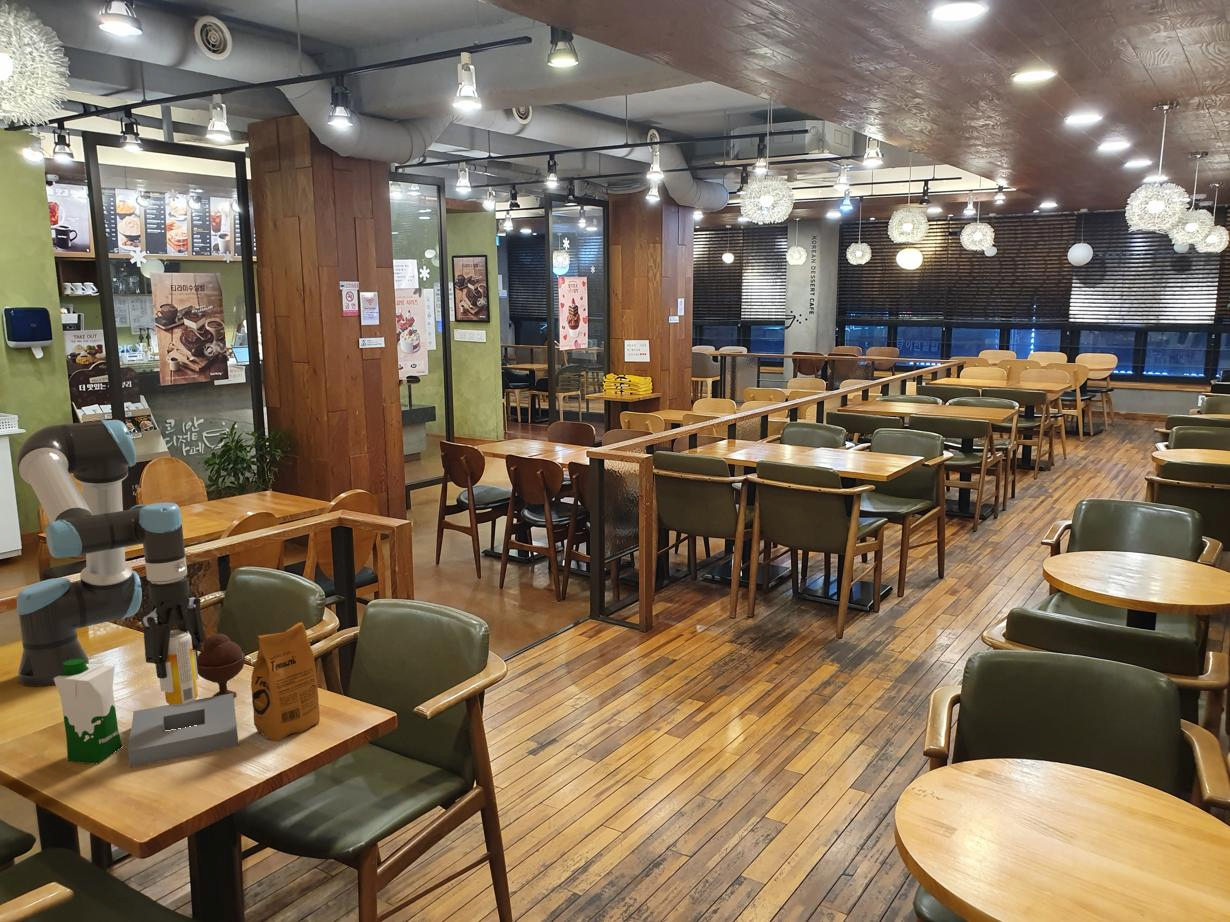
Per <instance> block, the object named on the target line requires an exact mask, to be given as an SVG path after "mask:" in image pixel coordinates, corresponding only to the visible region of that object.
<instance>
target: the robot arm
mask: <svg viewBox="0 0 1230 922" xmlns="http://www.w3.org/2000/svg"><path fill="white" fill-rule="evenodd" d="M135 448H136V447H135V445H134V441H133V438H132V436H131V433H130V431H129V428H128V427H127V426H126V424H125V423H124V422H123V421H121V420H118V419H109V420H108V419H107V420H104V419H101V420H94V421H85V422H75V423H74V422H73V423H65V424H52V425H49V426H46V427H43V428H41V429H38V430H36V431H35V432H34V433H31V435H29V436H28V438H26V439H25V441H24V442H23V443H22V445H21V446H20V448H19V450H18V452H17V455H16V467H17V470H18V473H19V476H20V477H21V478H22V480H23V481H24V482H25V483H27V484H28V485H31V488H32V490H33V491H34V492H35V496H36V497H37V499H38V501H39V503H40V505H41V507H42V509H43V511H44V512H45V514H46V515H45V516H46V517H47V518H48V520H49V523H47V524H46V526H45V539H46V545H47V548H48V552H49V554H50V556H52V557H53V558H55V559H64V558H70V557H71V558H76V557H78V556H83V555H85V560H86V563H85V564H86V567H84V568H83V569H82V570H81V571H80V576H79V577H80V578H79V579H80V580H77V581H72V582H71V580H70V579H69V578H67V577H57V578H49V579H45V580H42V581H41V580H40V581H38V582H35V583H32V584H30V585H29V586H26V587H25V588H23V589H22V590H20V591H19V592H18V594H17V596H16V614H17V615H18V621H19V626H20V628H19V629H20V635H21V641H22V642H21V643H22V649H23V650H22V654H21V659H20V662H19V663H20V664H19V667H18V672H17V675H18V681H19V683H20V684H21V685H23V686H28V687H45V686H50V685H51V686H52V685H56V684H55V682H54V678H55V677H57V676H58V675H60V674H62V673H63V672H64V671H63V663H64V662H65V661H67V660H70V659H74V658H85V660H86V664H90V661H89V660H90V659H89V657H88V655H87V654H86V652H85V650H84V648H83V646H82V645H81V643H80V641H79V638H78V633H77V632H78V631H77V629H82V628H86V627H91V626H95V625H100V624H105V623H109V622H112V621H121V620H123V619H126V618H129V617H133V616H134V615H135V614H136V613H137V612H139V610H140V607H141V604H142V599H143V597H142V595H143V594H142V591H143V590H142V587H141V586H142V583H141V579H140V576H139V574H138V573H137V572H136V571H135V570H133V568H132V566H130V565H129V564H128V563H126V549H125V548H126V547H127V548H128V547H131V546H139V545H142V546H143V547H142V548H143V554H144V564H145V573H146V575H145V576H146V580H147V581H148V583H147V589H148V596H149V597H148V598H149V600H150V601H151V603H152V606H151V607H152V608H151V612H150V613H149V614H147V615H146V616H145V615H142V616H140V619H139V620H140V623H141V625H142V628H143V629H142V630H143V641H144V655H145V663H149V664H154V665H155V671H156V677H157V679H159V685H160V692H162V693H163V692H164V693H165V692H169V693H172V692H174V687H173V678H172V670H171V662H170V661H167V655H168V648H169V640H170V632H171V631H173V628H174V624H176V626H177V630H180V631H183V632H186V631H188V632H189V634H190V635H191V639H192V648H193V657H194V666H195V675H196V681H197V680H199V674H198V670H197V662H198V655H199V653H198V650H199V649H201V648H202V644H203V643H205V641H206V640H205V634H204V629H203V628H204V627H203V621H202V614H201V602H202V601H201V598H199V597H191V596H190V597H189V594H190V584H189V578H188V577H187V574H188V568H187V567H188V566H187V557H186V552H185V539H184V531H183V517H182V515H181V509H180V506H179V505H178V504H177V503H175V502H156V503H155V502H154V503H151V504H137V505H134V506H131V507H130V508H129V509H126V510H124V506H123V503H124V502H123V484H122V481H124V480H125V479H126V478H127V477H128V475H129V467H130V468H131V467H133V466H135V465H136V464H137V454H136V449H135ZM71 474H72V475H73V478H74V479H73V478H72V475H71ZM74 480H75V481H76V482H79V483H80V484H81V492H80V490H79V488H78V487H77V484H76V483H75V481H74ZM137 614H138V613H137Z"/></svg>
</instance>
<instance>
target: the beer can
mask: <svg viewBox="0 0 1230 922" xmlns="http://www.w3.org/2000/svg"><path fill="white" fill-rule="evenodd" d="M167 661H170V662H171V670H172V678H173V687H174V692H172V693H169V692H164V694H165V695H164V696H165V702H166V703H167V705H170V706H172V707H182V706H186V705H189V704H191V703H193V702H194V701H195V700H197V698H198V696H199V693H198V685H197V680H196V675H195V666H194V657H193V648H192V639H191V635H190V634H189V632H188V631H186V632H183V631H180V630H179V629H174V630H173V629H172V630H171V632H170V640H169V648H168V655H167Z"/></svg>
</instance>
